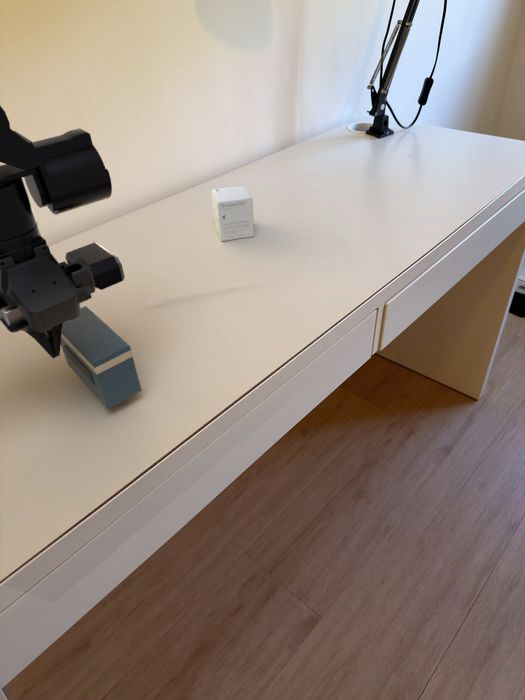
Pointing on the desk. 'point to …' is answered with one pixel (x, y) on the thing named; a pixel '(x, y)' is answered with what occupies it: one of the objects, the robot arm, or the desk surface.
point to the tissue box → (100, 358)
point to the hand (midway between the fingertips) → (54, 355)
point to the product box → (233, 213)
